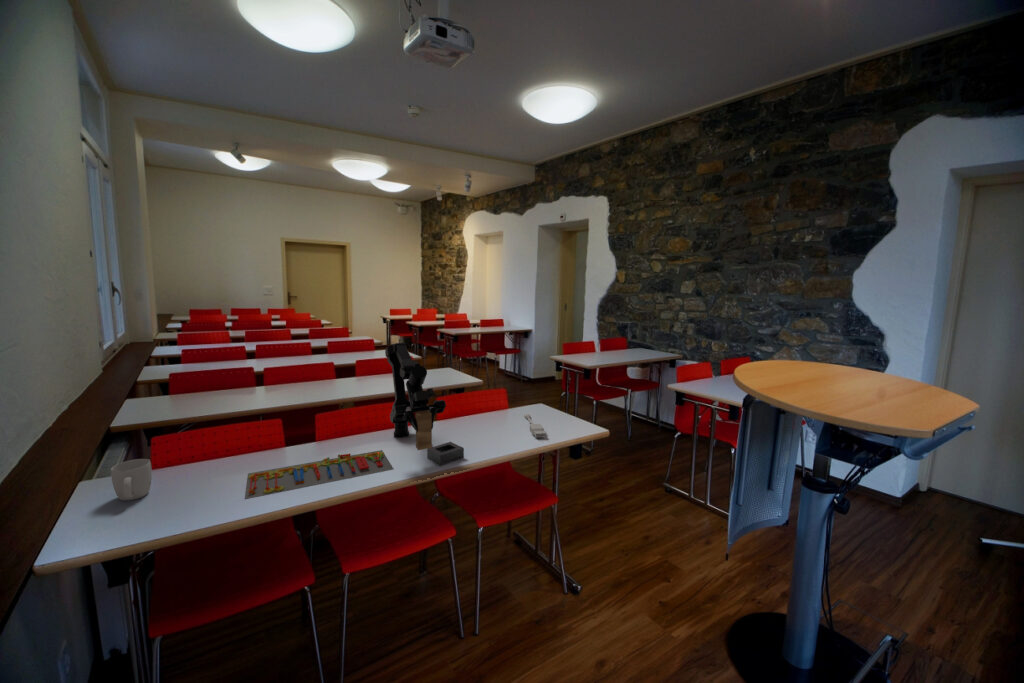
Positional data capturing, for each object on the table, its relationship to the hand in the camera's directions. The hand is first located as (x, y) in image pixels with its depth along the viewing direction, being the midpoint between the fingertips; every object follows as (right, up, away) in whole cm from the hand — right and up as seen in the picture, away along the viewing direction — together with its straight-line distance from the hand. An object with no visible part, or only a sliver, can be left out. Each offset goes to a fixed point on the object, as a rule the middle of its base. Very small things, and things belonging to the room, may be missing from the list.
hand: (424, 430), depth 151 cm
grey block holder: (+6, -13, +8) cm, 16 cm away
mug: (-83, -16, -24) cm, 88 cm away
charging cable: (+41, -9, +45) cm, 61 cm away
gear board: (-35, -14, -4) cm, 38 cm away
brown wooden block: (-1, -7, +2) cm, 7 cm away
